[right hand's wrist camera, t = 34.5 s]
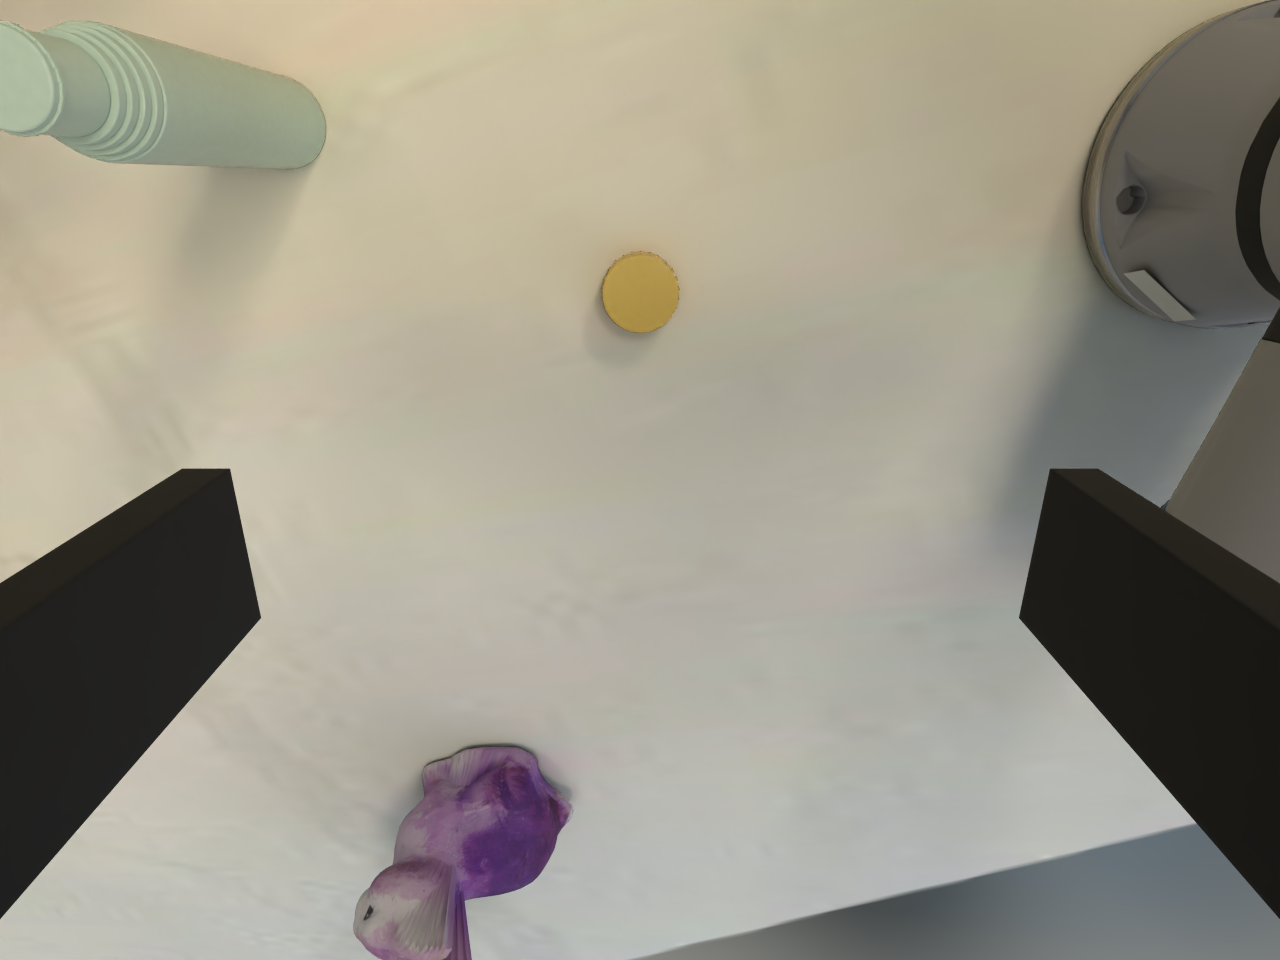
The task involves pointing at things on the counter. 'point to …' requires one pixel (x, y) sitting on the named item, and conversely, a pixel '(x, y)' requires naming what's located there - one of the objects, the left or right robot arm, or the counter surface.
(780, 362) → the counter surface
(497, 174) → the counter surface
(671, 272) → the cap
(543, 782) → the figurine
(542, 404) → the counter surface
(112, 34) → the bottle
